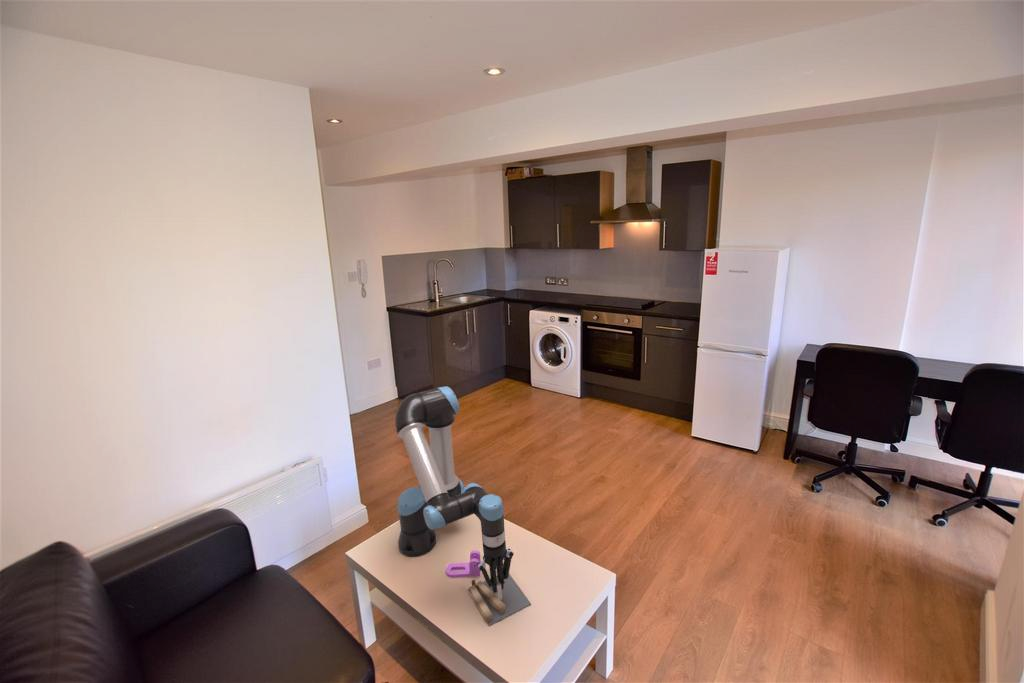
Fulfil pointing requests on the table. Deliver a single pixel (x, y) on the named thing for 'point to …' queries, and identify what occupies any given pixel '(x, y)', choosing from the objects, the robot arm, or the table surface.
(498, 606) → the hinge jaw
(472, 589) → the tongs base
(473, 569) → the bracket
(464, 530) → the table surface
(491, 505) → the robot arm
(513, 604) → the mat
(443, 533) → the table surface
